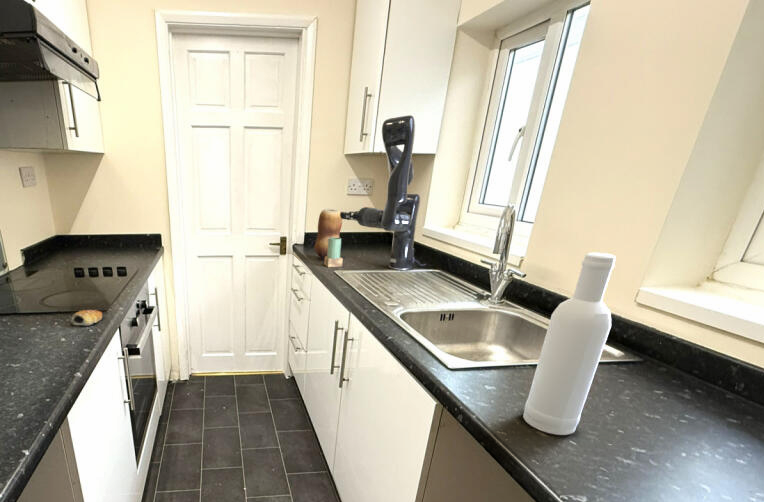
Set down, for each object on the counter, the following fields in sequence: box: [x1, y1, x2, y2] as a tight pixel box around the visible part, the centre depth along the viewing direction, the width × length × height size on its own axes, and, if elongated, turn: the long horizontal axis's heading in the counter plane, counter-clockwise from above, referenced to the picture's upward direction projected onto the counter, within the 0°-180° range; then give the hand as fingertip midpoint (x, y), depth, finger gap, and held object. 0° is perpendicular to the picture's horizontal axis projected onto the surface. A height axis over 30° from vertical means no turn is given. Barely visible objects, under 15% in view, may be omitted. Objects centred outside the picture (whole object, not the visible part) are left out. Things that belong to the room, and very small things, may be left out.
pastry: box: [70, 309, 103, 327], centre depth 123 cm, size 9×7×4 cm
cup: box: [327, 237, 342, 259], centre depth 196 cm, size 6×6×9 cm
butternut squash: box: [314, 208, 343, 261], centre depth 210 cm, size 14×13×25 cm
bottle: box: [522, 252, 617, 436], centre depth 68 cm, size 8×8×30 cm
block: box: [323, 256, 344, 268], centre depth 199 cm, size 7×6×4 cm
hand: (349, 214), depth 180 cm, fingers open, 8 cm apart
